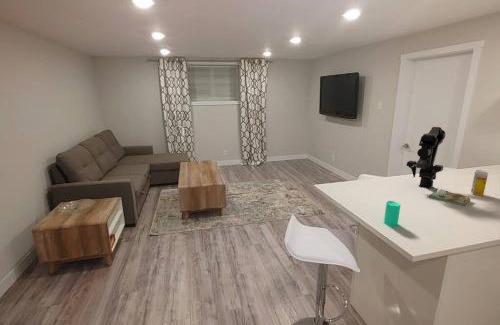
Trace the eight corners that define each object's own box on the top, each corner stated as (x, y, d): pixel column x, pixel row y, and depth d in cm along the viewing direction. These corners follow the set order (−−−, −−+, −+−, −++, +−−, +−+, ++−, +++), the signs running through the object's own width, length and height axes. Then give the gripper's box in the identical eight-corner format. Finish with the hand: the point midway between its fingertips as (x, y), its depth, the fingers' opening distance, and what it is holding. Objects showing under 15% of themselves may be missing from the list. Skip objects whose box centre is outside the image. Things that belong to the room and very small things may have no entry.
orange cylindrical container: (485, 196, 161) (490, 172, 158) (474, 195, 162) (479, 172, 159) (479, 192, 167) (484, 170, 163) (468, 192, 168) (473, 169, 164)
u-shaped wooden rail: (444, 199, 156) (445, 195, 156) (448, 195, 162) (449, 191, 161) (465, 204, 149) (466, 200, 148) (469, 200, 155) (469, 196, 154)
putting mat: (427, 197, 161) (427, 196, 161) (434, 191, 170) (434, 191, 170) (464, 206, 148) (464, 205, 147) (469, 199, 156) (470, 199, 156)
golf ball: (435, 195, 162) (436, 188, 160) (437, 194, 164) (438, 187, 163) (443, 197, 158) (445, 190, 157) (446, 196, 161) (447, 189, 160)
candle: (381, 220, 131) (384, 198, 128) (392, 220, 131) (395, 197, 128) (388, 226, 125) (391, 203, 122) (400, 226, 126) (403, 202, 123)
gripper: (404, 154, 165) (401, 178, 169) (440, 159, 152) (435, 185, 156) (411, 151, 172) (408, 174, 176) (445, 156, 159) (441, 181, 163)
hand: (422, 178), depth 167 cm, fingers open, 9 cm apart
